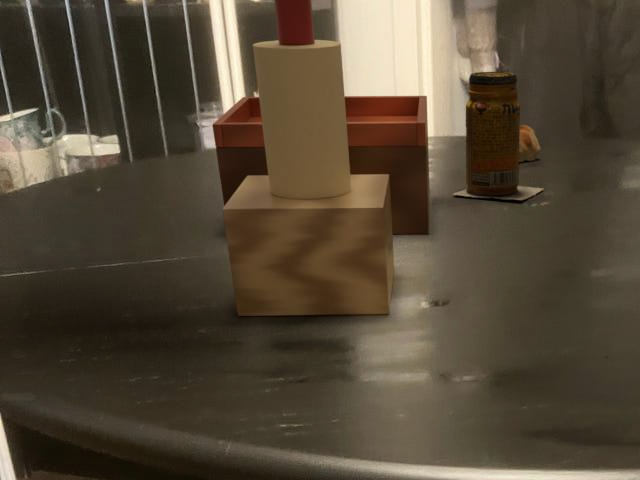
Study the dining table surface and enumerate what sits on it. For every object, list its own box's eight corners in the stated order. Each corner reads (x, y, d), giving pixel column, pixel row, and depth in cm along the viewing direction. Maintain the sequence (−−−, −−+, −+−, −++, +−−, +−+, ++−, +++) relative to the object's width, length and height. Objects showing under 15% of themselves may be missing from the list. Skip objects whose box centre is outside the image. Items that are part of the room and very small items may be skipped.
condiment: (478, 184, 117) (477, 68, 110) (544, 190, 114) (548, 72, 107) (452, 196, 111) (450, 76, 104) (521, 203, 109) (523, 80, 101)
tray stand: (228, 236, 97) (212, 124, 91) (255, 195, 112) (242, 96, 106) (428, 233, 98) (425, 122, 92) (429, 194, 112) (426, 95, 107)
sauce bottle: (264, 199, 75) (240, -3, 67) (276, 182, 80) (254, -8, 72) (348, 199, 75) (333, -3, 67) (354, 181, 80) (340, -8, 73)
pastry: (491, 168, 124) (491, 135, 122) (457, 161, 128) (456, 129, 126) (544, 159, 129) (545, 126, 127) (509, 152, 133) (510, 121, 131)
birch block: (237, 316, 77) (221, 208, 73) (259, 272, 87) (247, 175, 82) (389, 314, 78) (383, 207, 73) (394, 271, 87) (389, 174, 83)
